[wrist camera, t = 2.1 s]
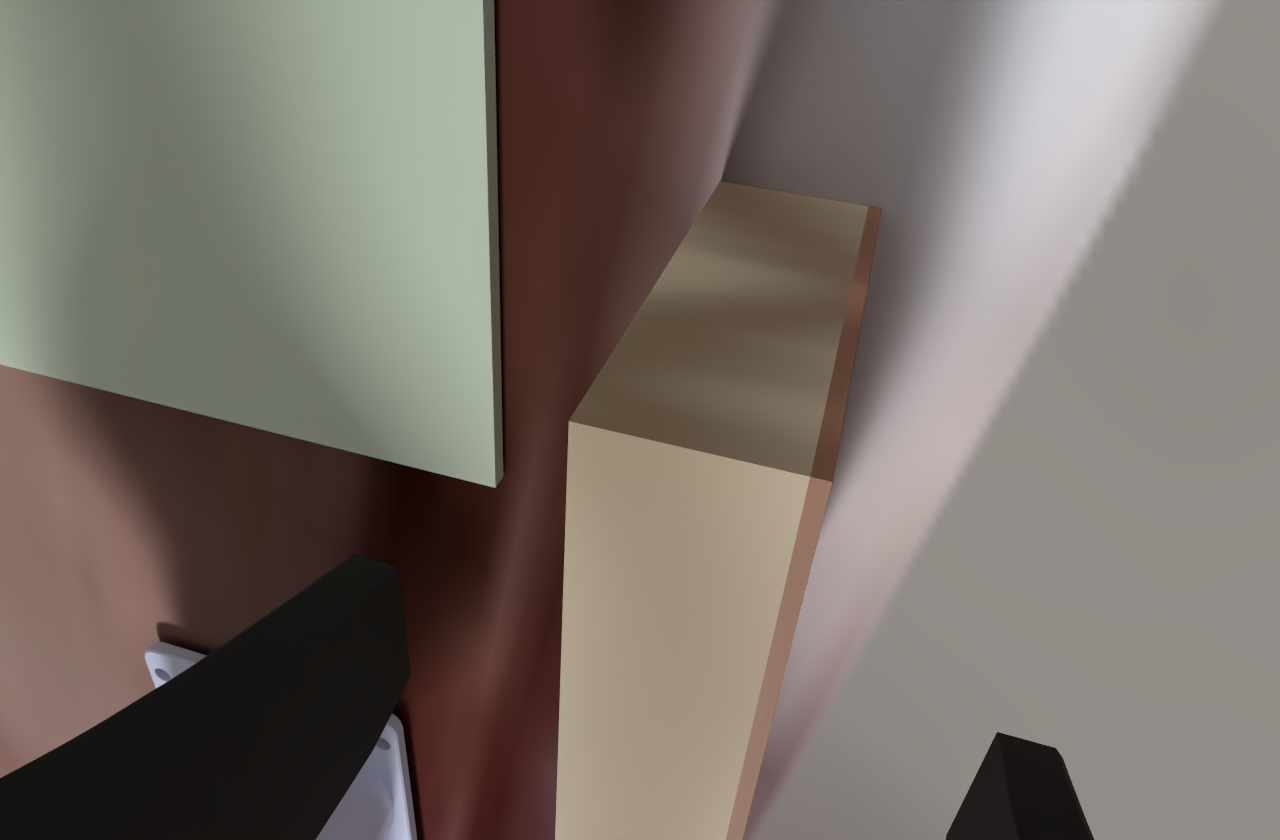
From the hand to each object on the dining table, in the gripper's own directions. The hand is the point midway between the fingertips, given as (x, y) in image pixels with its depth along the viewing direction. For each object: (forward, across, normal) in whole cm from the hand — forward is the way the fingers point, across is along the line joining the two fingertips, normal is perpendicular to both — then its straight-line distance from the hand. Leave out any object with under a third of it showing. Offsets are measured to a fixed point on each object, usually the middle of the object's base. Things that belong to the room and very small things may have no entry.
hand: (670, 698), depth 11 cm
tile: (+7, 0, 0) cm, 7 cm away
